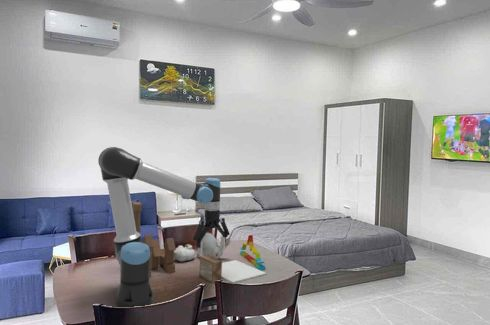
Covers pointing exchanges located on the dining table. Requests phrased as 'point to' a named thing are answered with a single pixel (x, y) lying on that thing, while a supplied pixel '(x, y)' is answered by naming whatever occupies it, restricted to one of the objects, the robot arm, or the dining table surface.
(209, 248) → the toy
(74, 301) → the dining table surface
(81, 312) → the dining table surface
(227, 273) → the mat
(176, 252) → the cat figurine
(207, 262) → the slab
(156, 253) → the building blocks
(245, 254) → the multicoloured triangular frame
